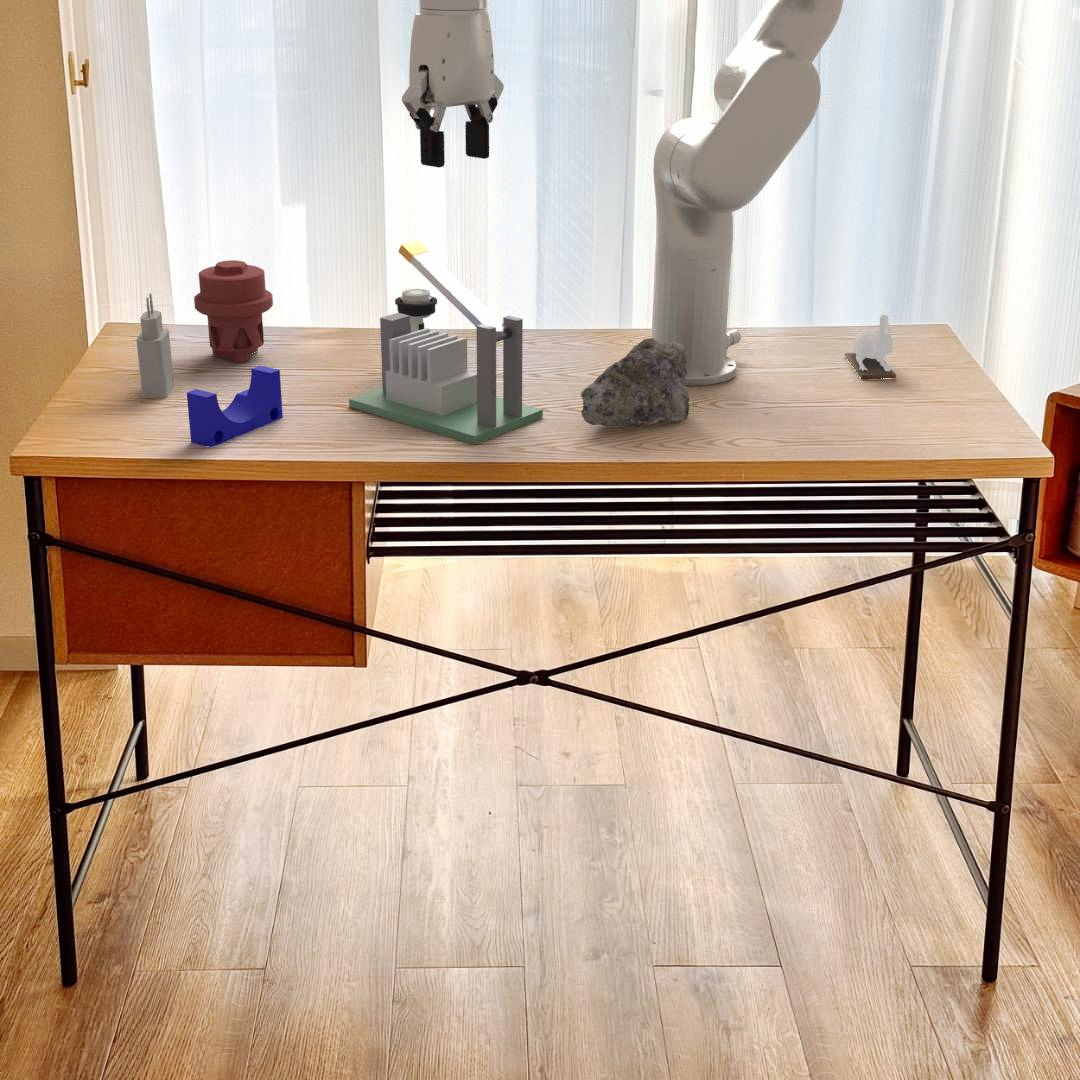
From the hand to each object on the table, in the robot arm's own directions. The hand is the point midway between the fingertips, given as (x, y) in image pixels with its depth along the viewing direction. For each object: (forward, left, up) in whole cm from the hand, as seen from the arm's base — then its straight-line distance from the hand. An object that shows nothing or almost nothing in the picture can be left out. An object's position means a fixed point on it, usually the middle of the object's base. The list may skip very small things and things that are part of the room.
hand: (455, 160), depth 171 cm
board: (+8, +5, -28) cm, 29 cm away
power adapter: (+25, -27, -28) cm, 46 cm away
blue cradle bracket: (+28, -10, -28) cm, 41 cm away
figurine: (-39, +37, -28) cm, 61 cm away
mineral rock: (-4, +24, -28) cm, 37 cm away
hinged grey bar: (+8, +7, -13) cm, 17 cm away
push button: (-2, -9, -28) cm, 29 cm away
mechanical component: (+9, -31, -28) cm, 43 cm away
